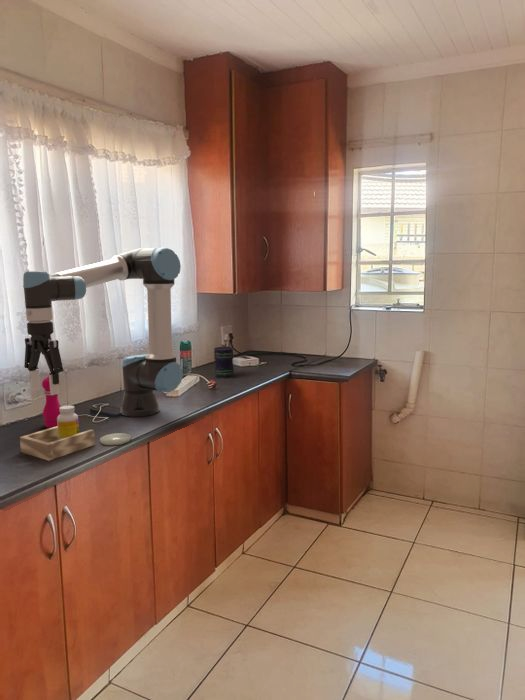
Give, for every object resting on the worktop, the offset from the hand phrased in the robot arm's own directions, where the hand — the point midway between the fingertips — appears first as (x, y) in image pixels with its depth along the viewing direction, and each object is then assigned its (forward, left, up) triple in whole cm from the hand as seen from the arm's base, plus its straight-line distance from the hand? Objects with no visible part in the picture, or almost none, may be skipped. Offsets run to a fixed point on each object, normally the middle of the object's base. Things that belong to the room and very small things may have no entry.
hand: (45, 392), depth 175 cm
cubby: (-3, 0, -19) cm, 20 cm away
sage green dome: (-18, +10, -19) cm, 29 cm away
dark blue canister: (-119, -21, -20) cm, 123 cm away
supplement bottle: (-7, 0, -20) cm, 21 cm away
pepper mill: (-18, -24, -20) cm, 36 cm away
